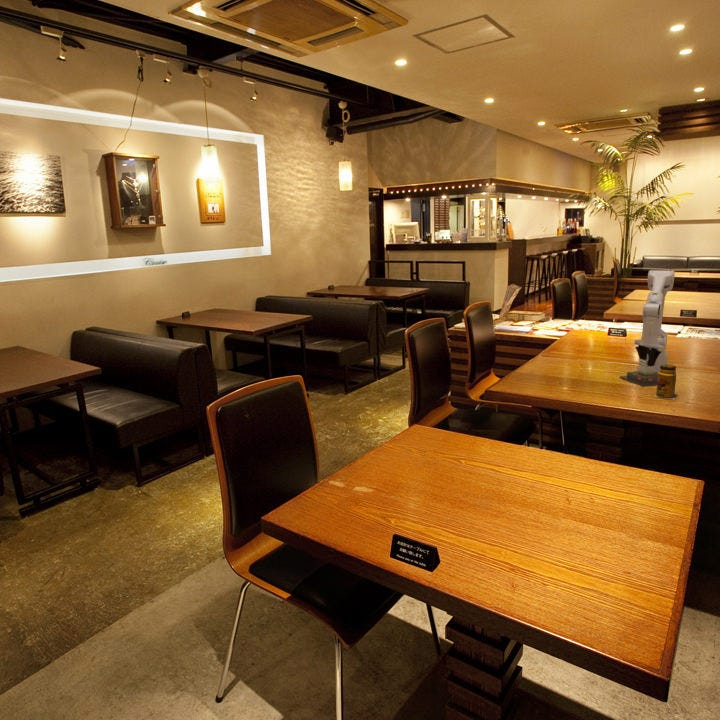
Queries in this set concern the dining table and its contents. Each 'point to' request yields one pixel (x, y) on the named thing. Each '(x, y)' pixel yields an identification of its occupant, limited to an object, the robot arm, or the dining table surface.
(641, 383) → the housing
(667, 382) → the condiment
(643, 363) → the column
